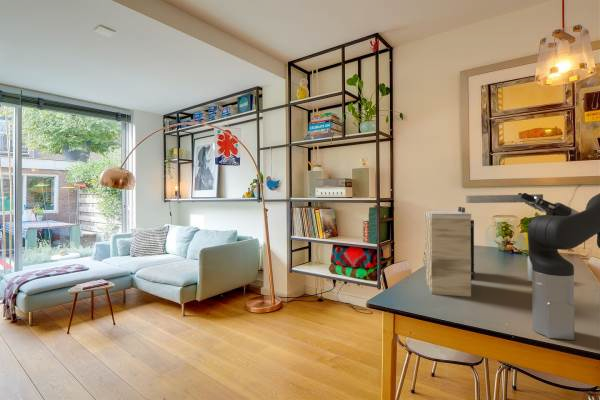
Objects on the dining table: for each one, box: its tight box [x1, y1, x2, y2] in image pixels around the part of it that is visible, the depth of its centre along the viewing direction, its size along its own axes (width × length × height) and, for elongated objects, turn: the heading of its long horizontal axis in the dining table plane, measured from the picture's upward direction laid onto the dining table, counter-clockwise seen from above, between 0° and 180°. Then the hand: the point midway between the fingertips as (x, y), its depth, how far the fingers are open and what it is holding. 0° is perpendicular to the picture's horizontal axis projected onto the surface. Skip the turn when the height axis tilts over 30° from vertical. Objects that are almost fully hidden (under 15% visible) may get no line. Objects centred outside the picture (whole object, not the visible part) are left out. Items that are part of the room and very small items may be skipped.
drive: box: [465, 193, 544, 204], centre depth 126 cm, size 4×26×3 cm, turn 75°
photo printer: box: [526, 255, 532, 283], centre depth 142 cm, size 10×4×12 cm, turn 123°
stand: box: [424, 206, 472, 297], centre depth 132 cm, size 22×14×34 cm, turn 165°
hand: (520, 195), depth 125 cm, fingers closed on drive, 4 cm apart
